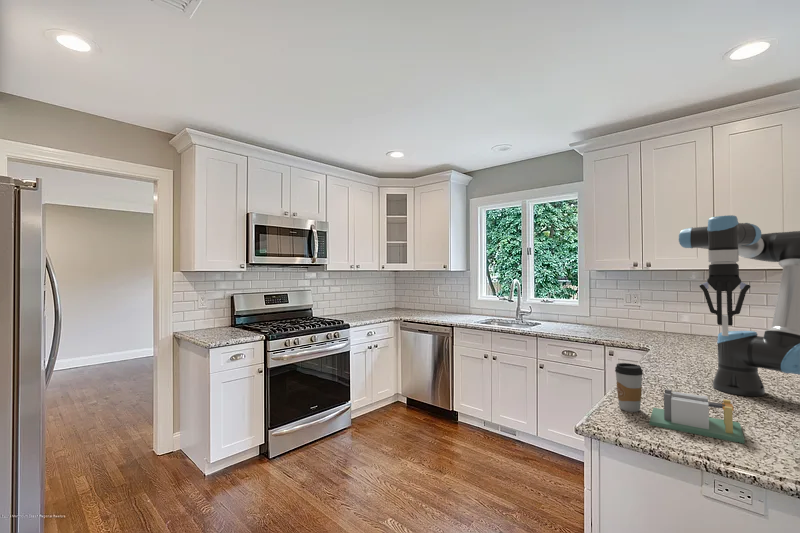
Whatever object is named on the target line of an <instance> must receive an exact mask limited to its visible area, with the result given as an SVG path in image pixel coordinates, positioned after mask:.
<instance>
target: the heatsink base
mask: <svg viewBox="0 0 800 533" xmlns="http://www.w3.org/2000/svg"><path fill="white" fill-rule="evenodd" d="M696 400H698V401H696ZM702 401H705V402H702ZM722 401H723V402H722V403H728V404H732V403H731V402H732V401H731V399H724V398H723V400H722ZM708 402H709V396H706V395H700V394H693V393H688V392H687V393H685V392H679V391H674V390H673V391H672V389H667V388H665V389H664V392H663V408H658V407H652V411H651V414H650V416H649V426H653V427H654V426H655V427H658V428H664V429H668V428H669V429H668V430H674V431H678V432H679V431H680V432H682V433H683V432H685V433H689V434H693V435H700V436H703V437H708V438H713V439H714V438H715V439H717V440H718V439H719V440H724V441H729V442H734V443H738V442H739V443H740V444H745V437H744V433H743V429H742V427H741V423H740V422H739V421H738V422H737V421H733V420H734V419H733V418H734V417H733V415H734V414H733V411H732V407H727V406H725V410H723V419H721V418H715V417H710V413H709V412H710V409H709V408H710V407H709V405H708Z"/></svg>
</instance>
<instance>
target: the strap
mask: <svg viewBox="0 0 800 533" xmlns="http://www.w3.org/2000/svg"><path fill="white" fill-rule="evenodd" d="M696 401H698V400H696ZM702 402H705V401H702ZM708 405H709V408H715V409H717V408H718V409H722V410H723V411H724V410H725V406H727V407H732V412H734V410H735V409H734V406H733V403H731V404H728V403H723V402H722V403H720V402H712V401H708Z"/></svg>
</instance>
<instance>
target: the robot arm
mask: <svg viewBox="0 0 800 533" xmlns="http://www.w3.org/2000/svg"><path fill="white" fill-rule="evenodd" d="M678 243H679V245H680V246H681V247H682V248H684V249H705V250H708V251H707V252H708V253H707V254H708V263H709V265H708V278H707V280H706V281H705V282H704V283H700V284H699V288H700V289H701V290H702V291H703V294H704V297H705V300H706V303H707V306H708V309H709V311H710V314H714V315H716V323H717V325H718V326H721V332H719V333H718V334H717V342H716V344H717V365H718V366H717V371H716V373H715V375H714V378H713V381H712V387H713V389H716V390H718V391H720V392H724V393H726V394H727V393H728V394H733V395H736V396H746V397H762V396H764V395H765V394H766V393H765V392H766V391H765V388H766V387H765V386H764V383H763V382H762V380H761V376H760V375H759V369H763V370H764V369H765V370H771V371H776V372H781V373H783V374H791V375H793V374H794V375H800V230H797V231H796V230H795V231H781V232H768V233H763V232H762V230H761V228H760V227H759V226H757V225H756V224H754V223H749V222H739V220H738V217H737V216H736V215H733V214H732V215H731V214H730V215H718V216H712V217H710V218H708V220H707V226H699V227H697V226H696V227H688V228H683V229H682V230H680V232H679V234H678ZM740 257H741V258H744V259H749V260H755V261H761V262H769V263H778V265H779V266H780V267H781V268H782V271H781V272H782V273H781V278H780V281H779V286H778V292H777V297H776V302H775V306H774V307H775V308H774V313H773V318H772V322H771V323H772V324H771V327H769V328H768V329H765V330H764V334H763V336H758V333H757V331H755V330H754V331H753V330H732V331H731V330H730V331H729V326H733V325H734V322H733V321H734V320H733V319H734V318H733V316H735V315H739V314H740V313H741V311H742V307H743V305H744V304H743V303H744V302H745V298H746V295H747V292H748V291H749V290H750V288H751V285H750V284H747V283H745V282H742V280H741V277H740V267H739V266H740V264H739V263H738V262H739V261H740V260H739V259H740ZM709 286H710V287H711V288H712V289H713V290H714V291H715V292H716V309H715V307H714V305H713V301H712V299H711V296H710V292H709V290H708V289H710V288H709ZM737 287H739V289H740V291H739V293H738V294H739V295H738V298H737V300H736V301H737V302H736V305H735V306H734V307H735V308H734V310H733V292H734V291H735V290H736V288H737ZM723 292H725V293H726V313H727V314H723V304H722V303H723V302H722V301H723V299H722V298H723V296H722V295H723V294H722V293H723Z"/></svg>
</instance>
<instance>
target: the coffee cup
mask: <svg viewBox="0 0 800 533" xmlns="http://www.w3.org/2000/svg"><path fill="white" fill-rule="evenodd" d="M614 372H615V377H616V390H617V399H618V400H617V401H618V406H619V408H620V410H622V411H625V412H630V413H637V412H640V410H641V406H642V405H641V402H642V393H643V392H642V391H643V390H642V387H643V385H642V384H643V383H642V382H643V381H642V380H643V374H644V373H643V369H642V366H641V365H638V364H635V363H628V362H622V363H621V362H619V363H616V366H615V370H614Z"/></svg>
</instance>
